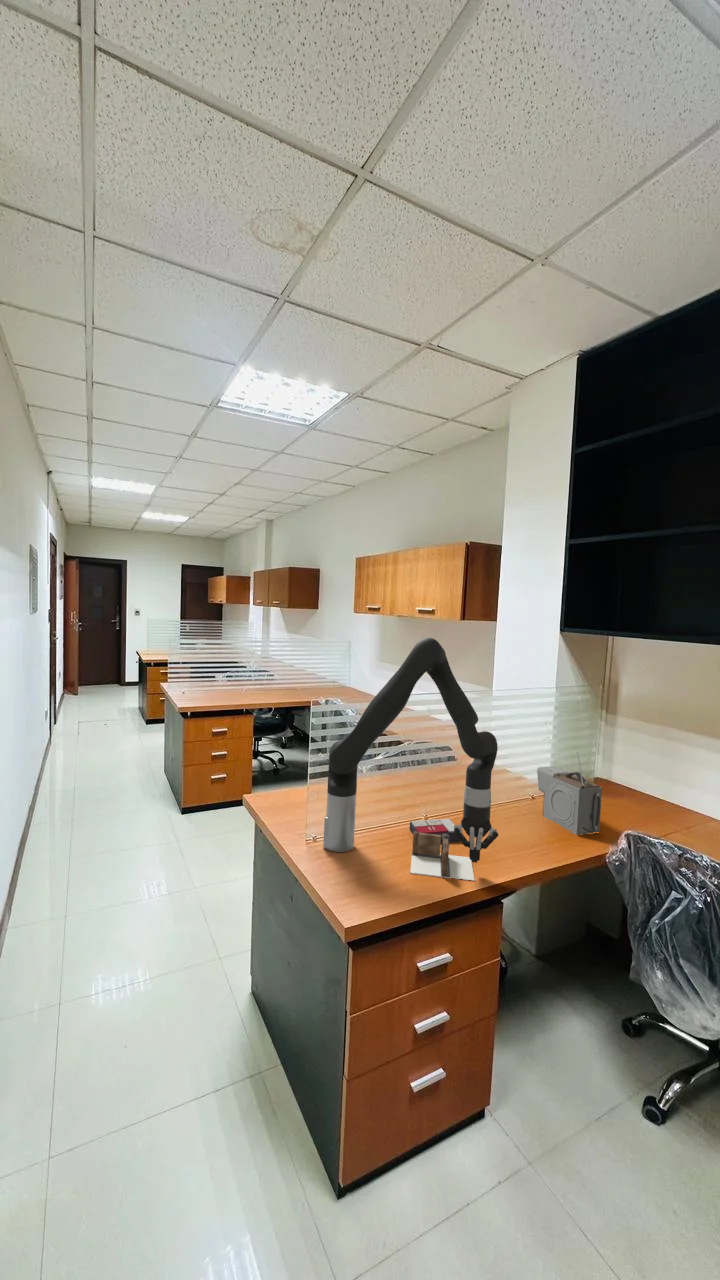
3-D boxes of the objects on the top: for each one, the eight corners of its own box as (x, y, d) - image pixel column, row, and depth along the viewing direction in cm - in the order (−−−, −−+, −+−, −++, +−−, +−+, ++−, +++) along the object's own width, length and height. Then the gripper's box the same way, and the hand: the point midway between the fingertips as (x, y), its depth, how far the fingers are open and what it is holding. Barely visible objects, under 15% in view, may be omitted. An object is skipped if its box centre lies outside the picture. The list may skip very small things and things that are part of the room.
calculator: (409, 819, 168) (450, 816, 171) (409, 831, 169) (450, 828, 171) (418, 833, 158) (461, 829, 160) (418, 846, 158) (461, 842, 160)
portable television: (555, 810, 195) (560, 736, 194) (602, 834, 172) (607, 751, 172) (531, 812, 191) (535, 737, 190) (575, 837, 168) (580, 752, 168)
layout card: (410, 873, 137) (410, 872, 137) (412, 851, 151) (412, 850, 151) (474, 881, 135) (474, 880, 135) (470, 858, 148) (470, 857, 148)
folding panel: (441, 857, 146) (442, 836, 146) (447, 858, 146) (448, 837, 146) (441, 875, 136) (442, 852, 136) (447, 875, 135) (448, 853, 135)
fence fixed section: (412, 856, 148) (413, 833, 148) (412, 852, 150) (413, 830, 150) (448, 860, 146) (449, 836, 146) (448, 857, 149) (449, 834, 148)
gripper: (499, 799, 141) (496, 858, 141) (453, 795, 143) (450, 852, 143) (502, 808, 133) (499, 870, 134) (454, 803, 135) (451, 864, 136)
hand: (474, 861), depth 138 cm, fingers closed
